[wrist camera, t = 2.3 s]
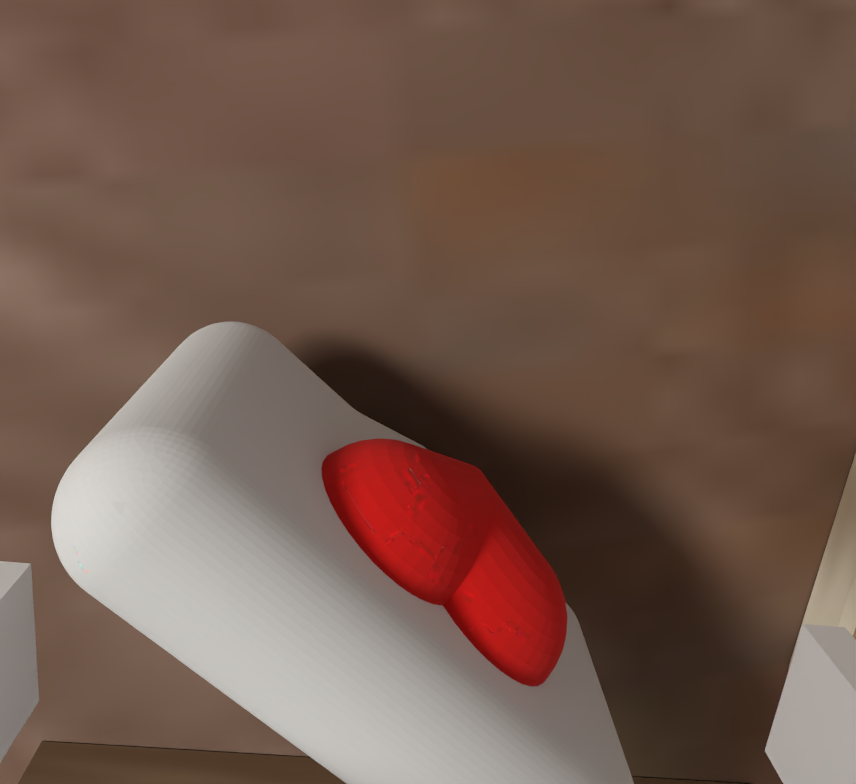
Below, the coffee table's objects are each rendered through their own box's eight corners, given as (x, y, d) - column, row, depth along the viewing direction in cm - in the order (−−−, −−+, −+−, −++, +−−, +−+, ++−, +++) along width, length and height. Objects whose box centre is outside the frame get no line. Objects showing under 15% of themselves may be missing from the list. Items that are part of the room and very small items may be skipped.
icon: (617, 541, 22) (776, 861, 13) (504, 634, 23) (574, 996, 14) (291, 226, 19) (185, 345, 10) (174, 348, 20) (-27, 566, 11)
